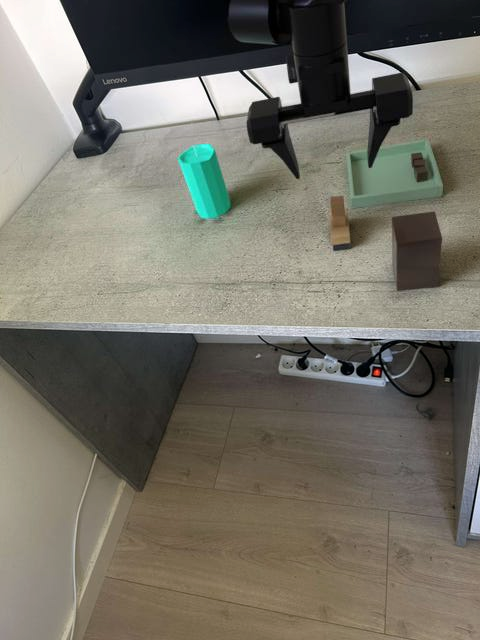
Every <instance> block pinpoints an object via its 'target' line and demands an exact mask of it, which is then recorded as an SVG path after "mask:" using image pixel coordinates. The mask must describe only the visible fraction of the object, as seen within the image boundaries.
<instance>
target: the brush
mask: <svg viewBox="0 0 480 640" xmlns="http://www.w3.org/2000/svg"><path fill="white" fill-rule="evenodd" d="M329 199H330V200H329V201H330V204H329V205H330V211H329V224H330V225H329V227H330V241H331V242H330V243H331V245H332V250H333V252H336V251H344V250H351V231H350V219H349V211H348V209H345V197H344V195H343V194H341V195H336V196H335V195H334V196H330V197H329Z"/></svg>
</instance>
